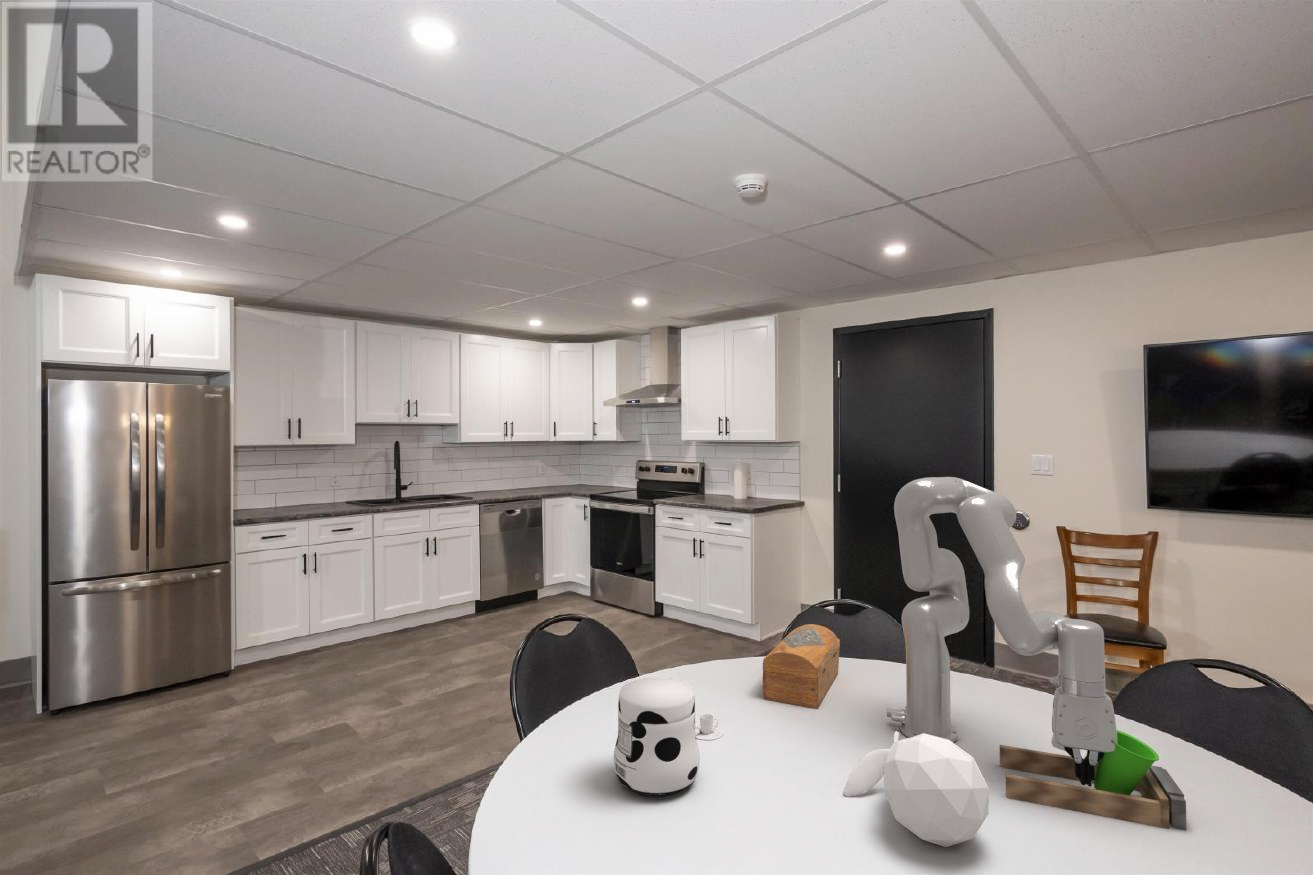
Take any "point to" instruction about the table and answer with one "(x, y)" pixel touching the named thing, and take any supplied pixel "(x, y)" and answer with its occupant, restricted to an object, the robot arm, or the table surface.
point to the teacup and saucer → (707, 727)
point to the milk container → (656, 736)
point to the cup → (1124, 765)
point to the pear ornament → (927, 787)
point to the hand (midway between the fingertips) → (1084, 782)
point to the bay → (1093, 790)
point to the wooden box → (802, 666)
